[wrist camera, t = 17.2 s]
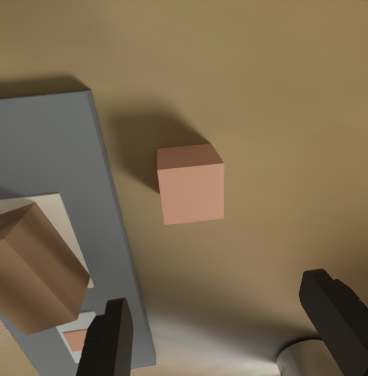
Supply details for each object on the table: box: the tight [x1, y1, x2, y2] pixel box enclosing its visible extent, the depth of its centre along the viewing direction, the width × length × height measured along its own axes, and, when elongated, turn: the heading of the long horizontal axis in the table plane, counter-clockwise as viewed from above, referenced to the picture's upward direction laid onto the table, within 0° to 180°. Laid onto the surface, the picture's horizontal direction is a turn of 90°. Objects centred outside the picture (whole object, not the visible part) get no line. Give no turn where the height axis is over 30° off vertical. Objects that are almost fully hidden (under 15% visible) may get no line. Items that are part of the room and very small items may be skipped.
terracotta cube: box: [157, 143, 224, 225], centre depth 21 cm, size 5×5×5 cm
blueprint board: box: [0, 89, 156, 376], centre depth 27 cm, size 16×38×2 cm, turn 5°
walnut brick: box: [0, 202, 91, 336], centre depth 22 cm, size 5×10×5 cm, turn 18°
